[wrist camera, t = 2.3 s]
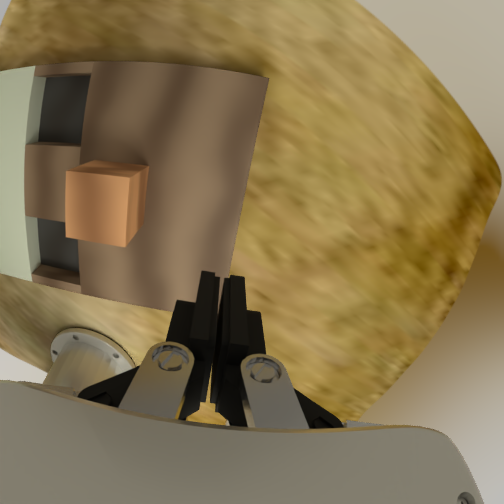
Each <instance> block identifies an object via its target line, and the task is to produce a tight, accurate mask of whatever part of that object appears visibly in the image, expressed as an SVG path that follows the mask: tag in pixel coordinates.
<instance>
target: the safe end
mask: <svg viewBox="0 0 504 504" xmlns="http://www.w3.org/2000/svg"><path fill="white" fill-rule="evenodd" d="M34 71H35V66H30V67H23V68H17V69H11V70H5V71H0V273H2V274H5V275H9V276H13V277H16V278H20V279H23V280H27V281H31V282H32V277H31V273H32V272H33V271H34V270H36V269H37V268H38V267H39V266H40V265H41V260H40V250H39V238H38V224H37V218H35V217H29V216H25V204H24V159H25V145H26V144H30V143H35V142H38V137H39V126H40V117H41V108H42V101H43V94H44V88H45V82H46V77H37V76H34Z"/></svg>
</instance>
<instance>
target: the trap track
mask: <svg viewBox="0 0 504 504" xmlns="http://www.w3.org/2000/svg"><path fill="white" fill-rule="evenodd" d="M34 76H37V77H46V82H45V88H44V94H43V101H42V108H41V117H40V126H39V137H38V142H35V143H30V144H26V145H25V159H24V204H25V216H29V217H35V218H37V224H38V238H39V250H40V260H41V265H40V266H39V267H38V268H37V269H36V270H34V271H33V272H32V273H31V277H32V282H35V283H39V284H43V285H46V286H50V287H55V288H59V289H63V290H67V291H71V292H76V293H80V294H84V295H89V296H93V297H98V298H103V299H107V300H112V301H117V302H122V303H127V304H132V305H138V306H143V307H148V308H154V309H159V310H165V311H171V312H173V311H174V307H175V304H176V301H177V300H183V301H189V302H195V303H196V297H197V292H198V287H199V281H200V276H201V271H202V270H203V271H209V272H215V276H218V277H220V287H219V302H218V310H219V304H220V299H221V293H222V288H223V282H224V278H228V276H229V271H230V266H231V261H232V256H233V250H234V245H235V240H236V235H237V230H238V225H239V220H240V215H241V210H242V205H243V200H244V195H245V190H246V185H247V180H248V175H249V170H250V166H251V161H252V156H253V151H254V146H255V142H256V137H257V132H258V128H259V123H260V118H261V114H262V109H263V104H264V100H265V95H266V91H267V86H268V82H269V78H266V77H261V76H256V75H251V74H246V73H240V72H234V71H228V70H222V69H215V68H208V67H200V66H191V65H181V64H170V63H156V62H135V61H92V62H71V63H58V64H47V65H38V66H35V71H34ZM93 160H100V161H110V162H120V163H129V164H137V165H145V166H149V172H148V180H147V190H146V200H145V211H144V223H143V225H142V226H141V228H140V229H139V230H138V232H137V233H136V234H135V235H134V237H133V238H132V239H131V241H130V242H129V243H128V245H127V246H126V247H120V246H114V245H108V244H102V243H97V242H91V241H85V240H80V239H74V238H68V237H66V223H65V189H66V171H67V170H69V169H72V168H75V167H77V166H80V165H82V164H85V163H88V162H90V161H93Z"/></svg>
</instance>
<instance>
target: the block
mask: <svg viewBox="0 0 504 504" xmlns="http://www.w3.org/2000/svg"><path fill="white" fill-rule="evenodd" d="M148 172H149V166H145V165H137V164H129V163H120V162H110V161H100V160H93V161H90V162H88V163H85V164H82V165H80V166H77V167H75V168H72V169H69V170H67V171H66V189H65V223H66V237H68V238H74V239H80V240H85V241H91V242H97V243H102V244H108V245H114V246H120V247H126V246H127V245H128V243H129V242H130V241H131V239H132V238H133V237H134V235H135V234H136V233H137V232H138V230H139V229H140V228H141V226H142V225H143V223H144V211H145V200H146V190H147V180H148Z"/></svg>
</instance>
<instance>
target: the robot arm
mask: <svg viewBox="0 0 504 504" xmlns="http://www.w3.org/2000/svg"><path fill="white" fill-rule="evenodd" d="M219 287H220V277H218V276H215V272H209V271H203V270H202V271H201V276H200V281H199V287H198V292H197V297H196V303H195V302H189V301H183V300H177V301H176V304H175V307H174V311H173V315H172V319H171V322H170V326H169V330H168V334H167V338H166V342H161V343H157V344H155V345H154V346H152V347H151V348H150V349H149V350H148V352H147V354H146V356H145V358H144V359H143V361H142V363H141V365H140V366H137V367H135V365H134V363H133V361H132V360H131V358H130V357H129V356H128V354H127V353H126V352H125V351H124V350H123V349H122V348H121V347H120V346H118V345H117V344H116V343H114V342H113V341H112V340H110V339H108V338H107V337H105V336H103V335H101V334H99V333H96V332H94V331H90V330H87V329H81V328H70V329H66V330H63V331H61V332H60V333H58V335H57V336H56V337H55V338H54V340H53V342H52V344H51V357H52V360H53V365H52V367H51V369H50V371H49V373H48V374H47V376H46V378H45V380H44V382H43V384H38V383H32V382H25V381H18V382H16V381H10V380H0V504H484V502H483V500H482V497H481V495H480V492H479V490H478V487H477V485H476V483H475V481H474V478H473V476H472V474H471V472H470V470H469V468H468V466H467V464H466V462H465V460H464V458H463V456H462V455H461V453H460V451H459V450H458V448H457V447H456V445H455V444H454V443H453V442H452V440H451V439H450V438H449V437H448V436H447V435H445V434H443V433H442V432H439V431H437V430H434V429H430V428H425V427H421V426H411V425H381V424H372V423H364V422H356V421H349V420H346V422H345V423H342V422H341V421H340V420H339V419H338V418H337V417H336V416H334V415H333V414H331V413H330V412H328V411H327V410H325V409H324V408H322V407H321V406H319V405H318V404H316V403H315V402H313V401H312V400H310V399H309V398H307V397H306V396H304V395H303V394H302V393H300V392H299V391H297V390H296V389H294V388H293V386H292V383H291V381H290V378H289V376H288V373H287V371H286V368H285V367H284V365H283V364H282V363H281V362H280V361H279V360H278V359H276V358H274V357H272V356H269V355H266V348H265V341H264V333H263V326H262V318H261V313H260V312H258V311H250V310H247V307H246V292H245V278H244V277H242V276H235V275H230V278H224V282H223V288H222V293H221V299H220V304H219V310H218V302H219ZM211 367H212V375H211V393H210V403H214V404H216V406H215V412H219V413H220V414H221V415H222V416H223V417H224V418H225V419H226V425H216V424H207V423H199V422H191V421H188V416H189V415H191V414H192V413H194V412H196V411H198V410H199V407H200V402H206V396H207V390H208V384H209V378H210V373H211Z"/></svg>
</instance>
